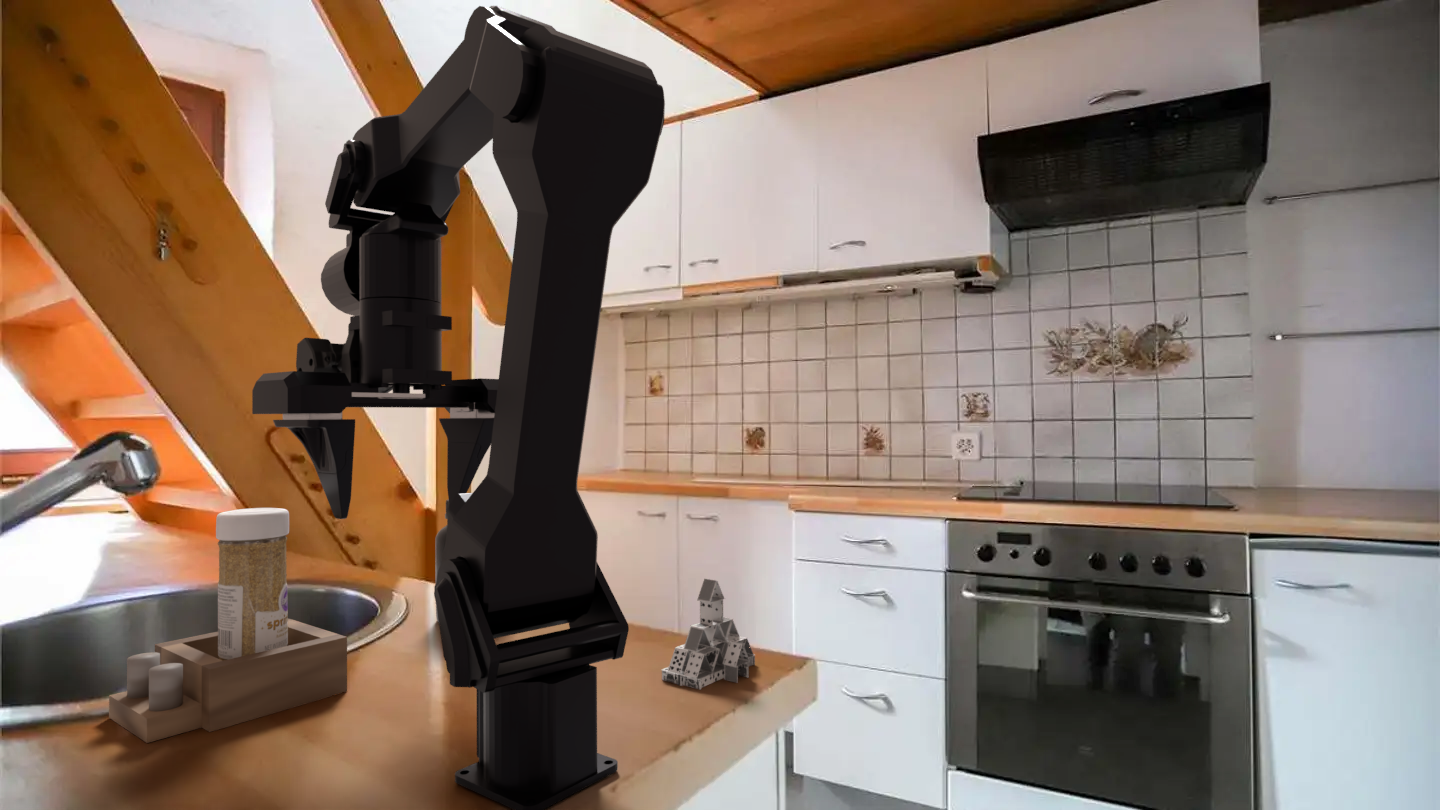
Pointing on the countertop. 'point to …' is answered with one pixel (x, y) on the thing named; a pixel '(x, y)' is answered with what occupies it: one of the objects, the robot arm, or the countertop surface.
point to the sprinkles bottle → (252, 581)
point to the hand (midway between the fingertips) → (401, 511)
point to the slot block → (226, 682)
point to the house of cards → (710, 646)
